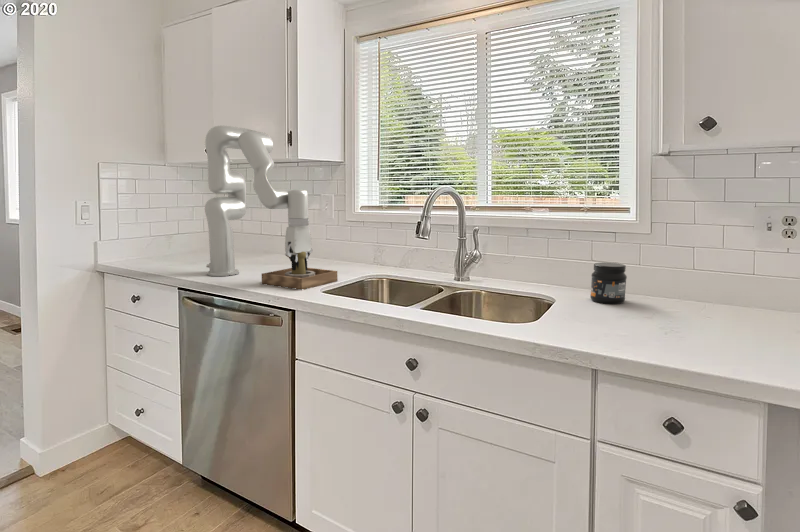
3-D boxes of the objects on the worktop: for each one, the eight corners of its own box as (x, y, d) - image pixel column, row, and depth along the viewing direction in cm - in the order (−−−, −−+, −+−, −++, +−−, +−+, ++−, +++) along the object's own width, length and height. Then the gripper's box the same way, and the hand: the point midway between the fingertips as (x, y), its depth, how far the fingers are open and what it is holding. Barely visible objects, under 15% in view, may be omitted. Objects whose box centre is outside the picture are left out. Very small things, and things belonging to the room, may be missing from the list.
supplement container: (590, 296, 175) (592, 261, 173) (624, 299, 171) (627, 263, 169) (589, 303, 165) (591, 265, 164) (625, 306, 162) (628, 267, 160)
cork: (295, 277, 201) (295, 249, 200) (309, 278, 199) (310, 250, 198) (287, 279, 195) (288, 250, 194) (301, 280, 193) (302, 250, 192)
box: (261, 284, 195) (261, 273, 194) (298, 276, 211) (298, 266, 211) (302, 290, 184) (301, 278, 184) (337, 281, 201) (337, 271, 200)
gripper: (306, 221, 203) (307, 267, 206) (274, 223, 189) (276, 273, 192) (320, 221, 199) (321, 269, 202) (290, 224, 185) (291, 275, 188)
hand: (299, 270), depth 197 cm, fingers open, 3 cm apart
